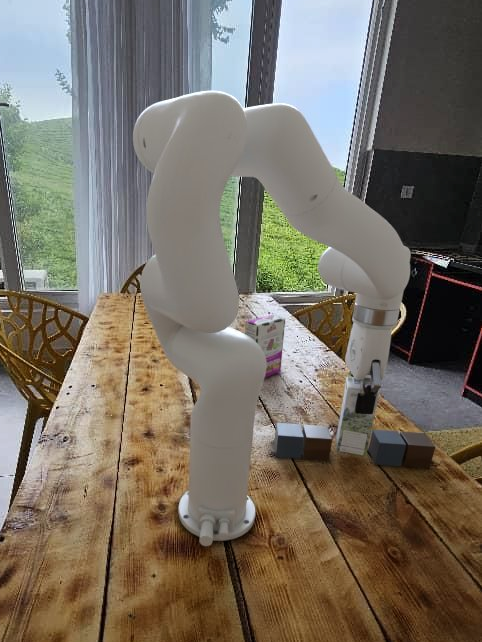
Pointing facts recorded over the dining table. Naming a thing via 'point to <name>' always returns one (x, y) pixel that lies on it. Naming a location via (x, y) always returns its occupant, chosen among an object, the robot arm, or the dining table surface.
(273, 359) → the candy bar box
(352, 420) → the syrup box
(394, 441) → the slate block
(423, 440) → the walnut block
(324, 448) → the walnut block
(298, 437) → the slate block
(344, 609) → the dining table surface
